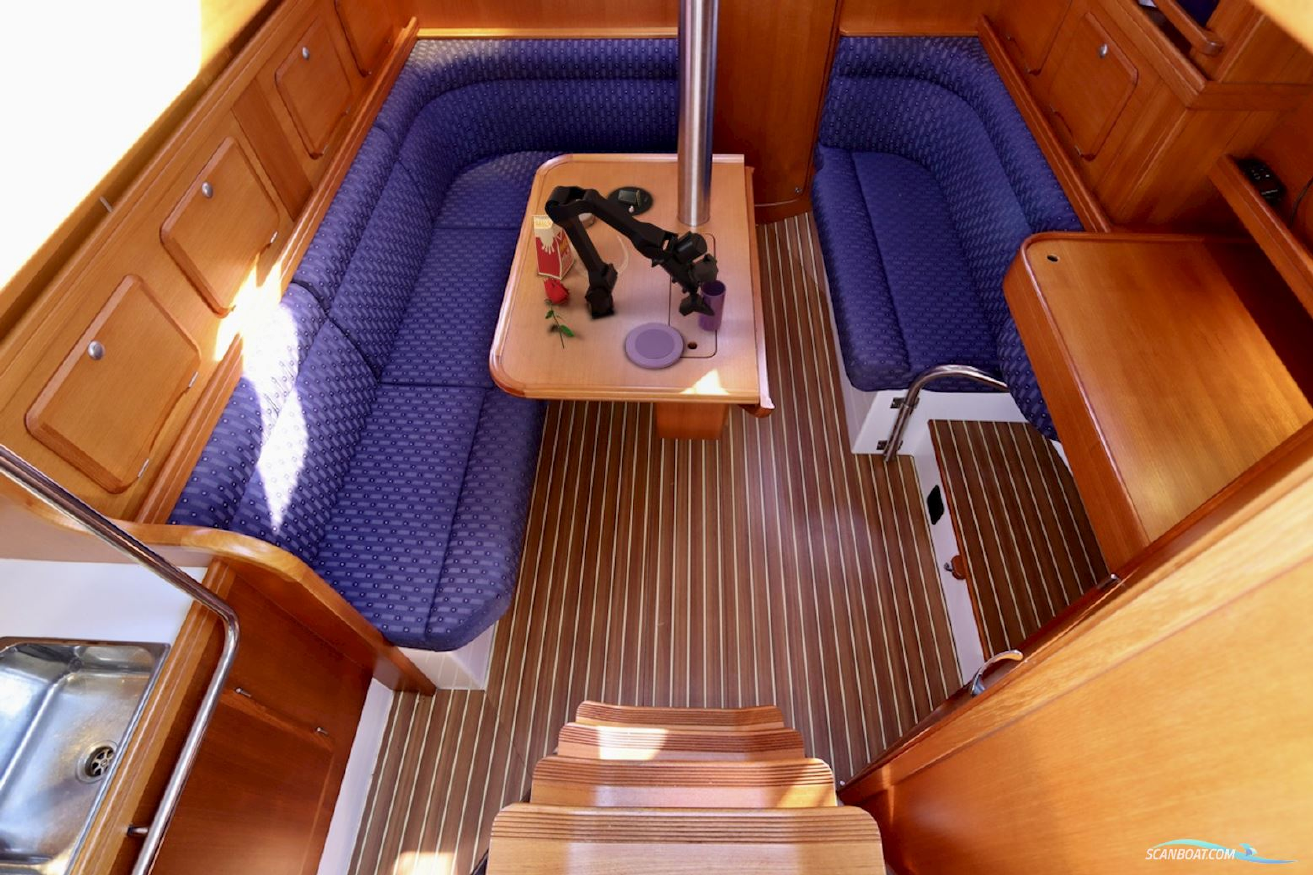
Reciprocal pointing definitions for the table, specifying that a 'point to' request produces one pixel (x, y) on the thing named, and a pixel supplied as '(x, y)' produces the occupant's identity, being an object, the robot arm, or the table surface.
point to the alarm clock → (586, 218)
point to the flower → (557, 301)
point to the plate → (654, 345)
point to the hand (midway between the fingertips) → (716, 306)
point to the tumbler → (712, 304)
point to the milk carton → (551, 248)
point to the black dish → (631, 200)
